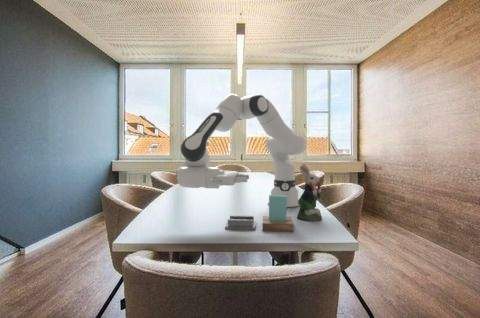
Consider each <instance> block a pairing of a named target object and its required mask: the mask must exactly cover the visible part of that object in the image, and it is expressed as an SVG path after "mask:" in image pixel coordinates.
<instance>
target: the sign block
mask: <svg viewBox="0 0 480 318" xmlns="http://www.w3.org/2000/svg"><path fill="white" fill-rule="evenodd" d="M268 202H269V205H268V216H269V221H286V217H287V208H288V207H287V196H286V195H271V194H268Z"/></svg>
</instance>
